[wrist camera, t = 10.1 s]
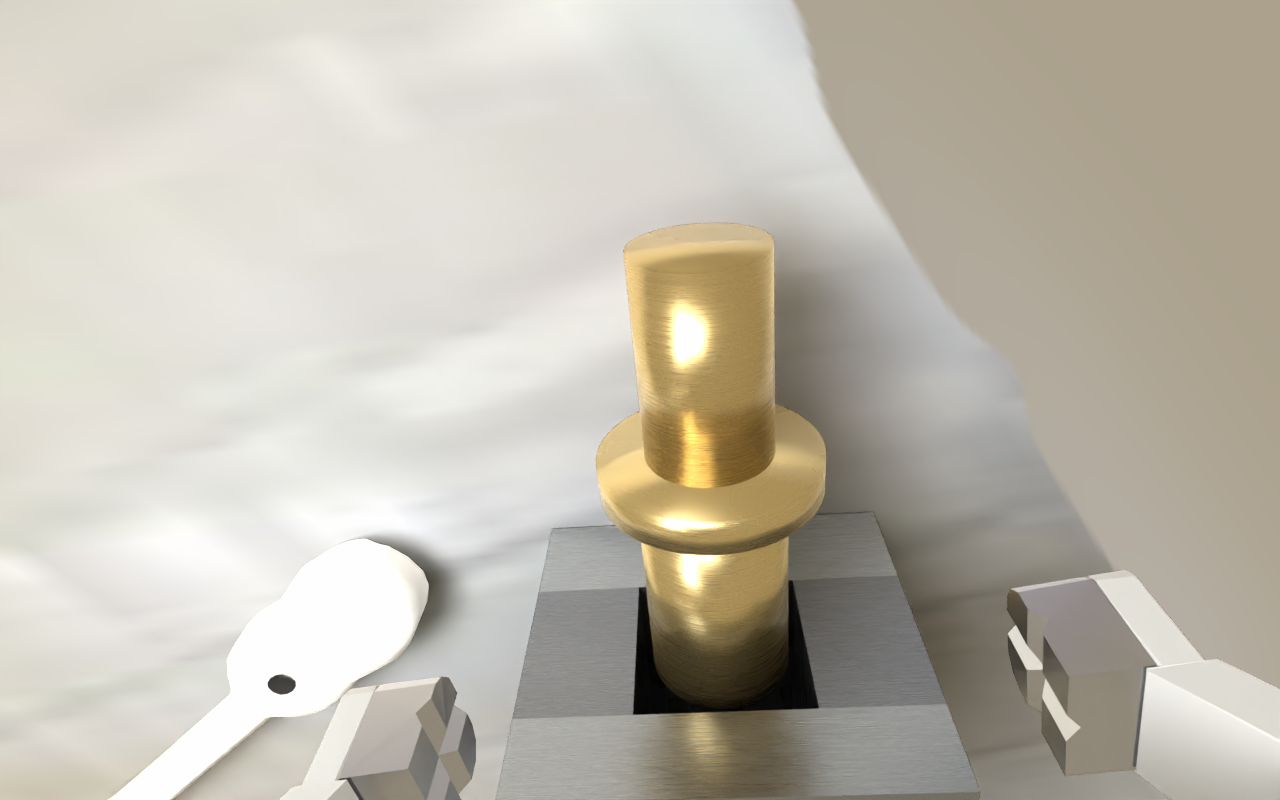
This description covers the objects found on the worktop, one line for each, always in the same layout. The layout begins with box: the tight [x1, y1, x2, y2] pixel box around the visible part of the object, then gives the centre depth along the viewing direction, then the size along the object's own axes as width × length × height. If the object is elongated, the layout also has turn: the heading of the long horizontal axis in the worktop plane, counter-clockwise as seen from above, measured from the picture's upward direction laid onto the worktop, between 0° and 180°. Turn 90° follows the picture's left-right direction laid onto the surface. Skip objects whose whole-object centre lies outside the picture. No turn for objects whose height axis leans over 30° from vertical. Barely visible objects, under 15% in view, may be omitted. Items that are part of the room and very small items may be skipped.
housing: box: [495, 512, 980, 800], centre depth 31 cm, size 12×14×13 cm
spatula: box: [108, 538, 429, 800], centre depth 39 cm, size 28×6×3 cm, turn 135°
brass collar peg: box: [596, 223, 826, 709], centre depth 24 cm, size 15×7×7 cm, turn 5°
